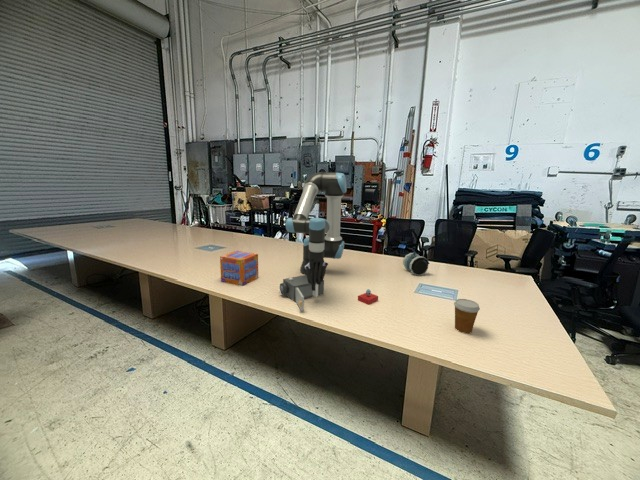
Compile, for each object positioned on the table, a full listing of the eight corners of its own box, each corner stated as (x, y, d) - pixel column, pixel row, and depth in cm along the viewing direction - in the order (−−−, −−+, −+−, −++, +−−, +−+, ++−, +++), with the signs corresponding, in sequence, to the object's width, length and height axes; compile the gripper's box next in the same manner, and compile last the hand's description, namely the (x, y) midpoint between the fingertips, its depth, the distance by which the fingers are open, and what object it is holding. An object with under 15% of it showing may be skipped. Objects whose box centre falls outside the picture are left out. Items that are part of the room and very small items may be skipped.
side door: (304, 311, 129) (304, 296, 127) (299, 311, 128) (300, 297, 126) (297, 300, 140) (297, 286, 139) (293, 300, 140) (294, 287, 138)
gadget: (429, 276, 186) (431, 254, 183) (411, 276, 183) (413, 254, 180) (418, 269, 200) (420, 248, 197) (401, 270, 197) (403, 249, 194)
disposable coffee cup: (446, 324, 122) (449, 298, 119) (467, 323, 123) (471, 298, 120) (458, 335, 113) (462, 308, 110) (481, 335, 114) (485, 308, 111)
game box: (237, 274, 177) (237, 250, 174) (258, 278, 172) (258, 253, 169) (220, 281, 163) (219, 256, 160) (242, 286, 158) (242, 259, 154)
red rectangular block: (368, 305, 139) (369, 293, 138) (357, 301, 144) (358, 289, 142) (377, 301, 144) (378, 289, 143) (367, 297, 149) (368, 285, 148)
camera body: (311, 287, 159) (312, 272, 158) (323, 294, 150) (324, 278, 148) (278, 294, 148) (278, 278, 146) (288, 302, 138) (288, 285, 136)
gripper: (323, 247, 142) (321, 290, 147) (300, 250, 134) (300, 295, 140) (332, 250, 136) (330, 295, 141) (309, 253, 128) (308, 301, 134)
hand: (315, 295), depth 140 cm, fingers closed
